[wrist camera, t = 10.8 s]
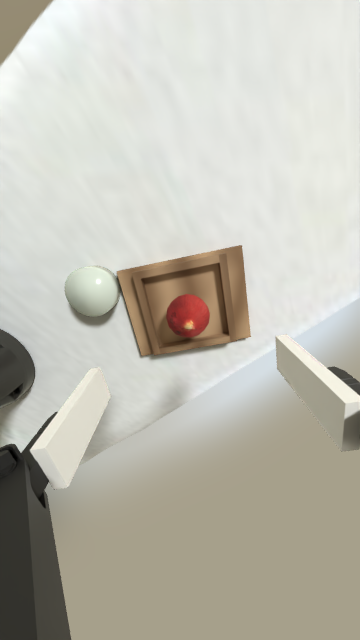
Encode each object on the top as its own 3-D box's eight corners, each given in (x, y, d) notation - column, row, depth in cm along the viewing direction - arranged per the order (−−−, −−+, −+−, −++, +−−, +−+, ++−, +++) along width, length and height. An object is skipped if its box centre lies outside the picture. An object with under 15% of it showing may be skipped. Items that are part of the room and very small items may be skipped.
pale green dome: (84, 314, 33) (75, 320, 30) (68, 270, 31) (56, 273, 28) (126, 306, 33) (120, 311, 30) (112, 261, 30) (105, 262, 27)
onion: (184, 332, 33) (184, 359, 25) (160, 305, 31) (152, 325, 24) (214, 310, 31) (223, 331, 24) (190, 280, 30) (191, 294, 22)
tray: (143, 352, 35) (139, 360, 33) (118, 270, 31) (113, 272, 28) (248, 334, 34) (253, 341, 31) (239, 245, 29) (244, 245, 27)
